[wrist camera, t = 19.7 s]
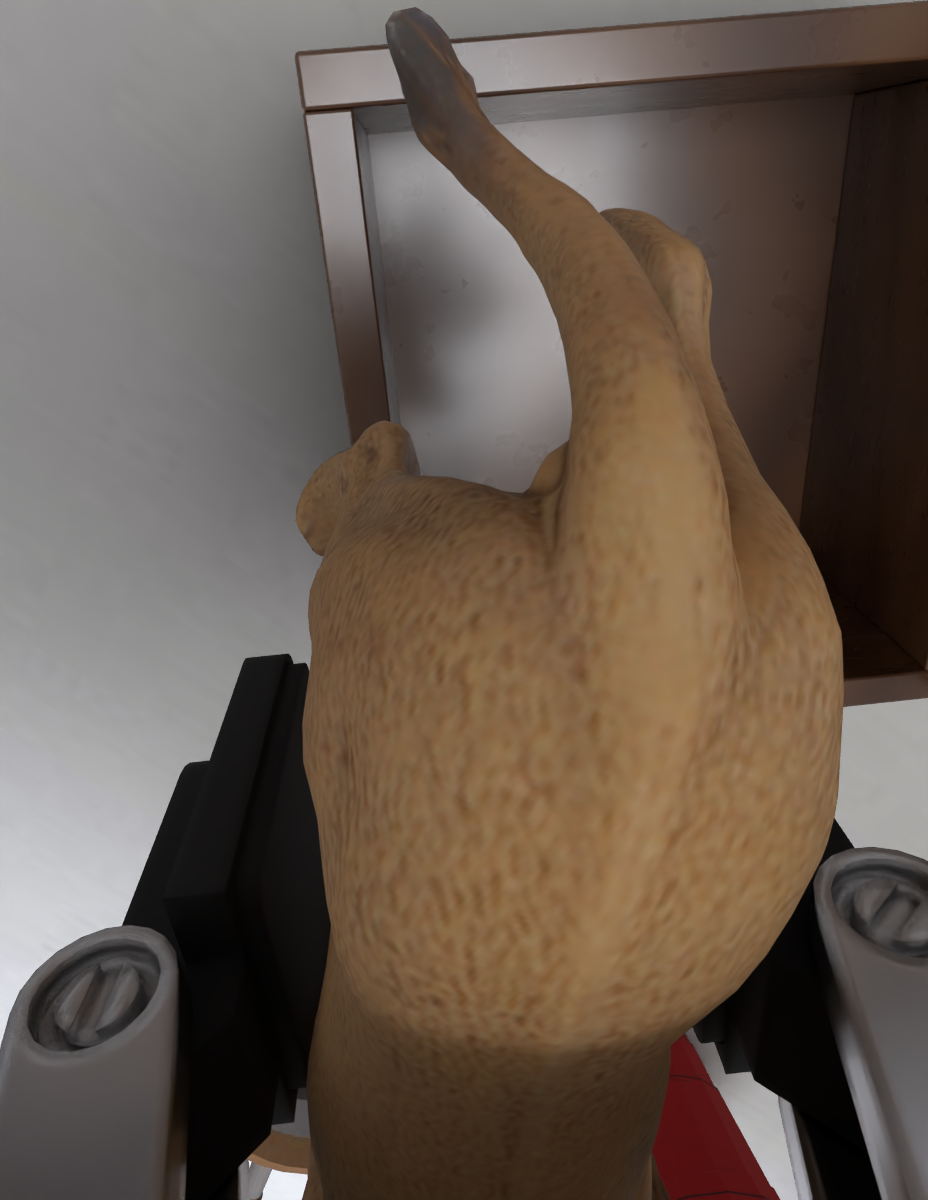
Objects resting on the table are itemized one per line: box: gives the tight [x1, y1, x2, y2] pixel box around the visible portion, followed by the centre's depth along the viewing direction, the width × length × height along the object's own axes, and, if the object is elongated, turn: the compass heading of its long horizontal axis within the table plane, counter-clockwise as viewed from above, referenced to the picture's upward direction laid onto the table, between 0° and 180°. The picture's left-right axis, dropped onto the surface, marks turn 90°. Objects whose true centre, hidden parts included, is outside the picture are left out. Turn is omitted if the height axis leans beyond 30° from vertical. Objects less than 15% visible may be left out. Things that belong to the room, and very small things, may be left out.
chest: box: [295, 0, 928, 707], centre depth 24 cm, size 16×17×10 cm
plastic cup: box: [652, 1034, 780, 1200], centre depth 41 cm, size 11×11×12 cm
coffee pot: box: [248, 1088, 311, 1200], centre depth 32 cm, size 21×12×15 cm, turn 154°
